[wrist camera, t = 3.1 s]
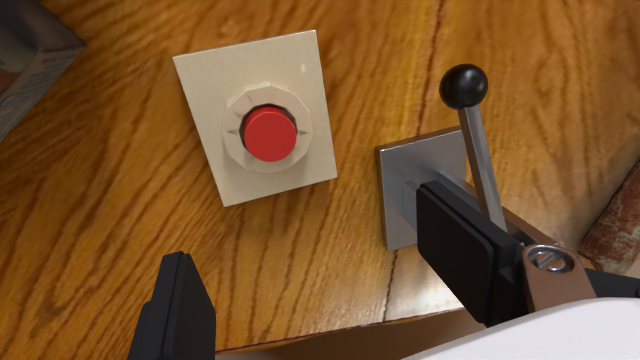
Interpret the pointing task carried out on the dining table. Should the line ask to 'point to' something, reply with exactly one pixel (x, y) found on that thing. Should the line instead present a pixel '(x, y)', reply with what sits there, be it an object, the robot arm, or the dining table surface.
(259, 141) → the button
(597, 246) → the salami
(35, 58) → the grey printed box
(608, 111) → the dining table surface
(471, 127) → the lever
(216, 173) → the button block
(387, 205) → the bracket
